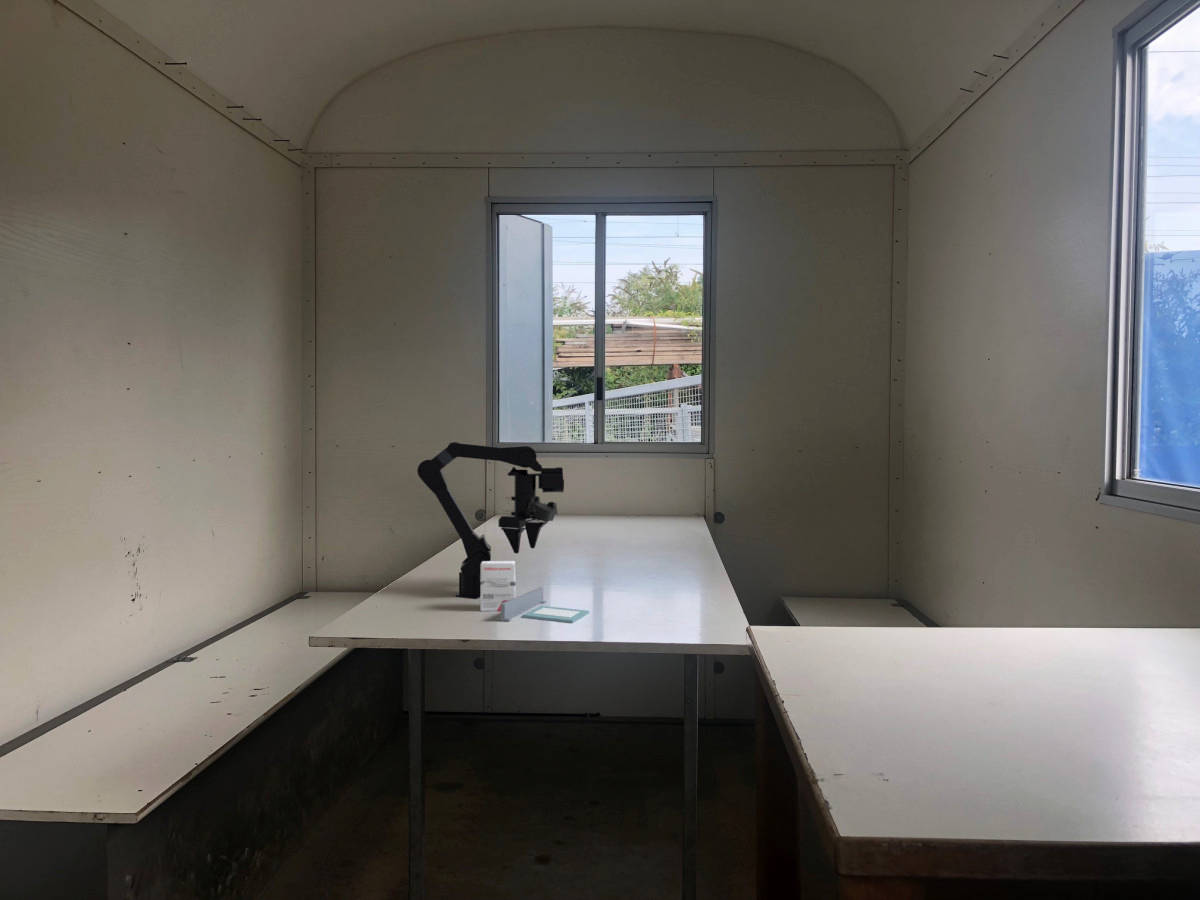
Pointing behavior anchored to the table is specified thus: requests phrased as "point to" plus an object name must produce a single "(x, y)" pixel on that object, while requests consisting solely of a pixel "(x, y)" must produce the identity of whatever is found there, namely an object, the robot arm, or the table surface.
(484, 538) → the robot arm
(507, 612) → the grey long bar
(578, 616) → the teal picture frame
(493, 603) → the ink box
